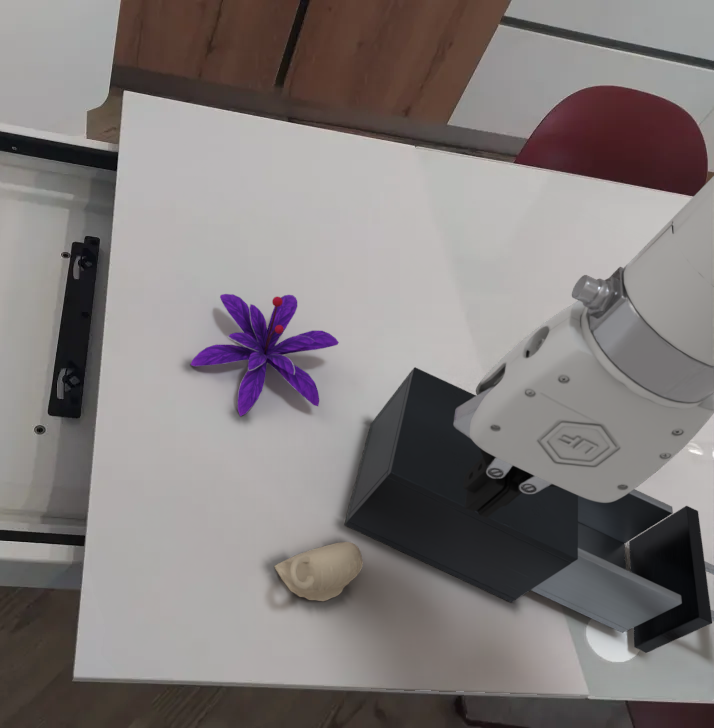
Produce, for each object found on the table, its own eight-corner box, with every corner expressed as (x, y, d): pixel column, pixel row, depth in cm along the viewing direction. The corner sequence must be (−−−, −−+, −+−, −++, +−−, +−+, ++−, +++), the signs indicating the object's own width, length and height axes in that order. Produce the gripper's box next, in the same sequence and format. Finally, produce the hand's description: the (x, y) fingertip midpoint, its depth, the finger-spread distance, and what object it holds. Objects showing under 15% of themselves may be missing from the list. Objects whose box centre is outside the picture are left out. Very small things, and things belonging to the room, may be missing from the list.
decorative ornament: (360, 590, 63) (388, 564, 59) (275, 614, 60) (298, 589, 56) (341, 546, 65) (366, 519, 61) (257, 567, 62) (278, 540, 58)
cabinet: (519, 492, 75) (578, 442, 68) (511, 602, 67) (578, 559, 59) (370, 423, 75) (414, 366, 68) (344, 525, 67) (390, 472, 59)
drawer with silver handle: (705, 576, 74) (769, 543, 68) (719, 687, 66) (793, 660, 60) (498, 480, 74) (544, 439, 68) (489, 580, 66) (540, 543, 60)
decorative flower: (352, 328, 78) (372, 289, 72) (299, 448, 71) (316, 418, 65) (233, 275, 80) (242, 232, 73) (170, 388, 73) (173, 352, 66)
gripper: (530, 320, 36) (371, 494, 50) (806, 448, 36) (571, 587, 50) (536, 233, 41) (390, 414, 55) (779, 346, 41) (572, 498, 55)
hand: (477, 496), depth 52 cm, fingers closed
